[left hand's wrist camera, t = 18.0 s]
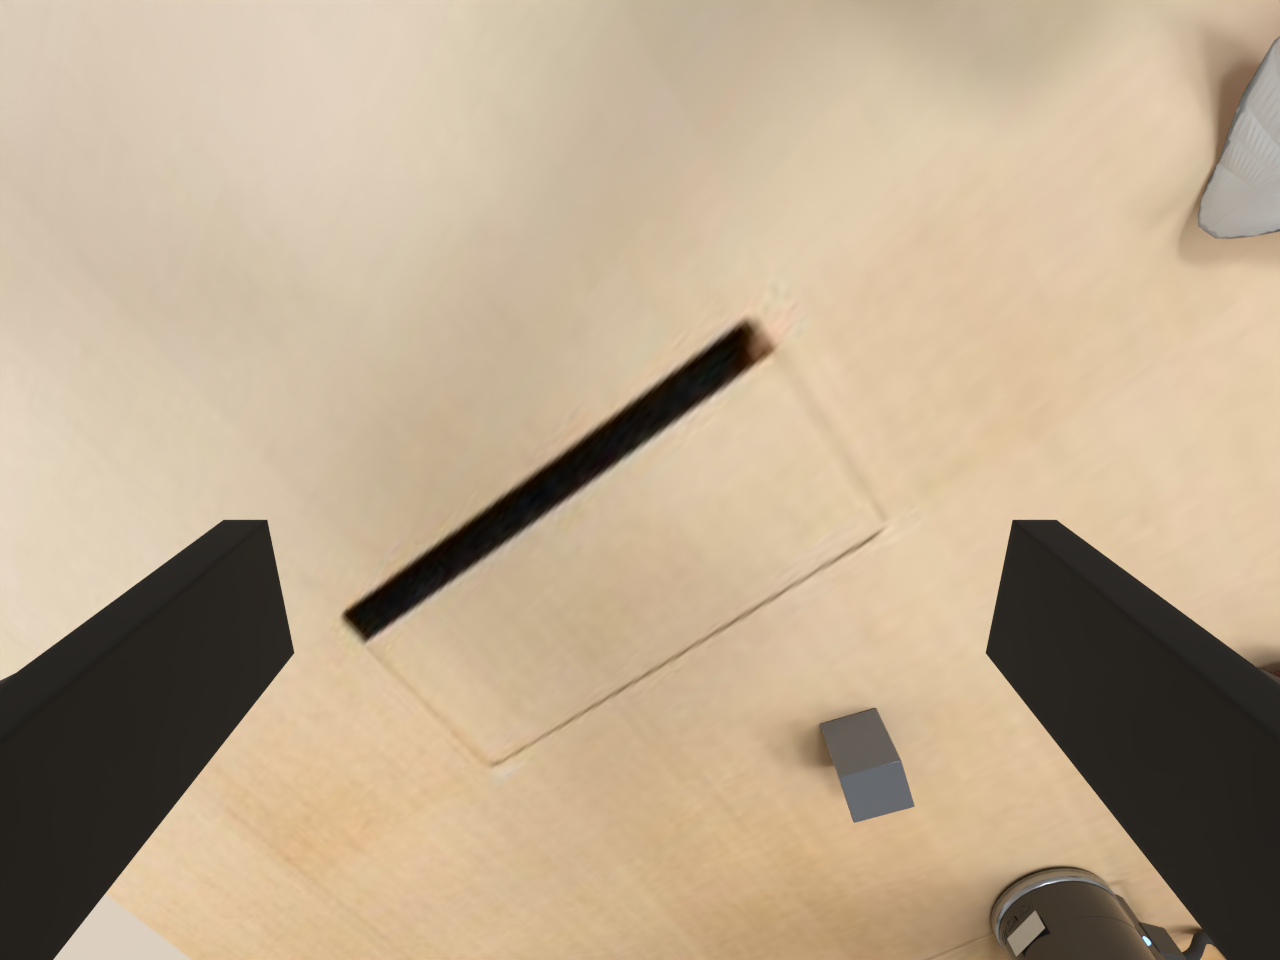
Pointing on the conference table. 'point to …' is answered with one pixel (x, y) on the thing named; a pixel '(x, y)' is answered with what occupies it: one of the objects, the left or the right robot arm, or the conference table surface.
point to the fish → (1249, 162)
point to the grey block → (867, 765)
